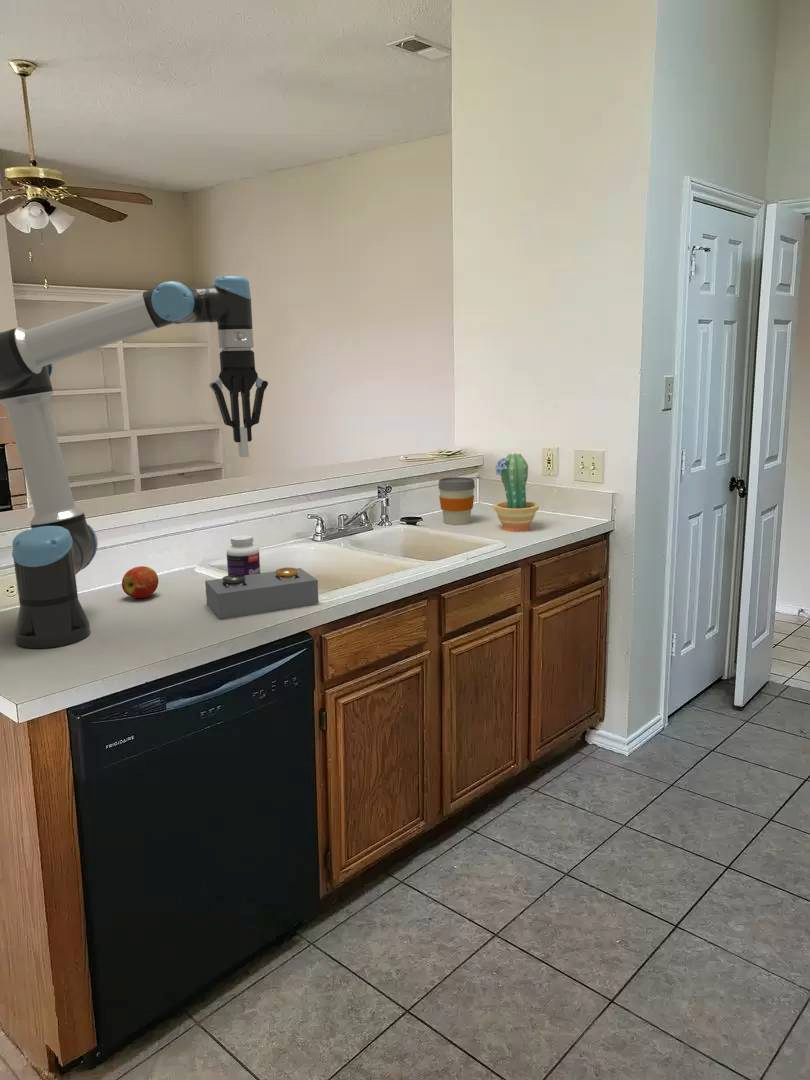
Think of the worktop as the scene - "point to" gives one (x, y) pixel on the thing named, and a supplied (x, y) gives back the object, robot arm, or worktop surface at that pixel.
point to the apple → (140, 582)
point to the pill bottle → (243, 556)
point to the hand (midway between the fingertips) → (243, 456)
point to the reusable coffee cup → (456, 499)
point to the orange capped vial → (286, 573)
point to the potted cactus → (514, 494)
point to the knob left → (233, 580)
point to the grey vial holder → (261, 594)
